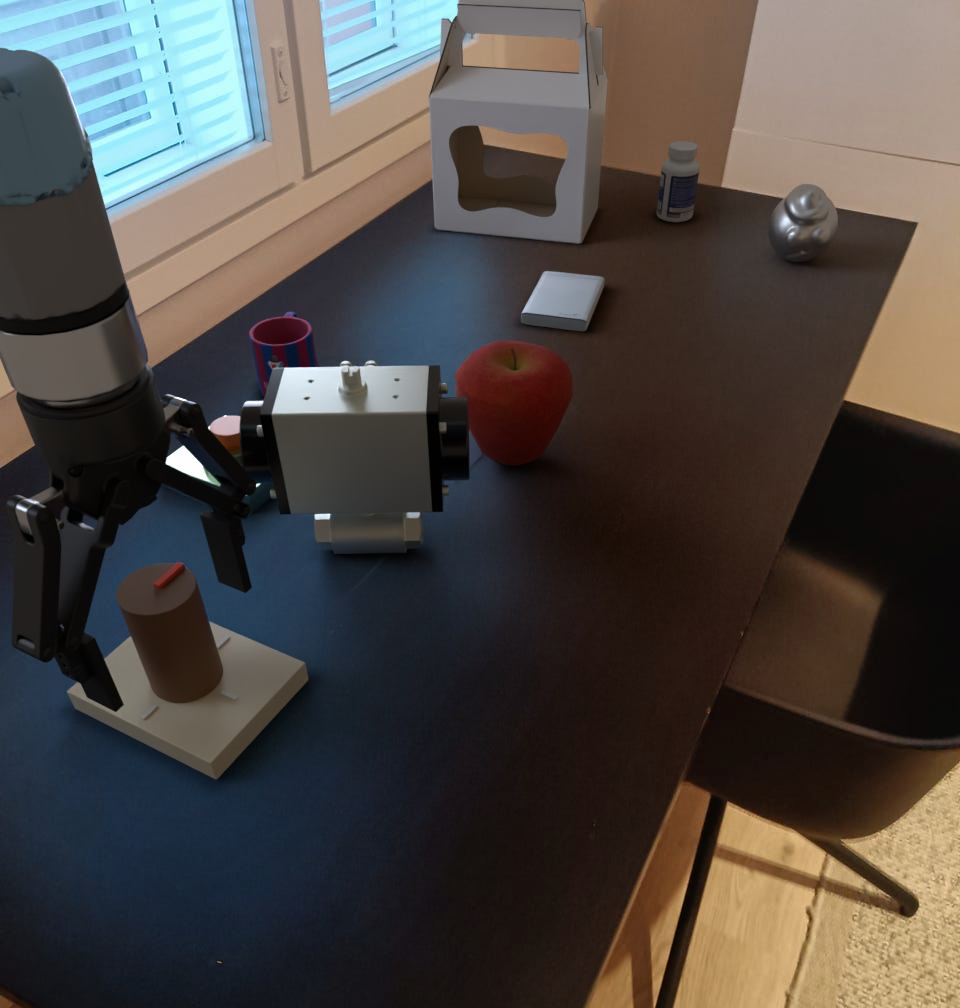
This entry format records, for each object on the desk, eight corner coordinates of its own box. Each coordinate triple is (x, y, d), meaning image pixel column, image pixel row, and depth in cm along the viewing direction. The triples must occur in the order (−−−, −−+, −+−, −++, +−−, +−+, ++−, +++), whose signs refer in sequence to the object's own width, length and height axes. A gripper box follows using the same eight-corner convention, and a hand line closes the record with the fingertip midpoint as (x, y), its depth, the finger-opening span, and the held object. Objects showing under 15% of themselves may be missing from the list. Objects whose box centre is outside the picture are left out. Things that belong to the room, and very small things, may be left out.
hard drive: (587, 319, 111) (605, 275, 120) (520, 312, 113) (543, 268, 121) (586, 332, 112) (604, 288, 121) (520, 324, 114) (542, 281, 122)
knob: (191, 712, 68) (158, 621, 61) (135, 687, 69) (97, 596, 63) (237, 665, 71) (211, 573, 64) (183, 642, 73) (152, 550, 66)
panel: (74, 708, 71) (65, 689, 69) (173, 620, 77) (167, 601, 76) (216, 780, 66) (209, 761, 64) (308, 679, 73) (305, 660, 71)
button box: (163, 482, 91) (152, 447, 89) (229, 433, 97) (221, 399, 95) (251, 514, 88) (242, 479, 85) (313, 461, 94) (308, 427, 91)
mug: (252, 401, 102) (240, 343, 97) (279, 356, 109) (268, 301, 104) (311, 405, 101) (302, 347, 96) (334, 360, 108) (326, 304, 103)
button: (205, 445, 89) (201, 429, 88) (229, 427, 92) (226, 411, 90) (234, 455, 88) (231, 439, 87) (258, 436, 90) (255, 421, 89)
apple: (466, 495, 89) (463, 382, 81) (451, 434, 97) (447, 325, 88) (578, 483, 90) (587, 371, 82) (555, 424, 98) (560, 315, 89)
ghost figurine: (747, 262, 126) (762, 185, 119) (781, 240, 131) (798, 165, 124) (808, 281, 122) (828, 202, 114) (841, 258, 127) (862, 180, 119)
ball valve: (471, 512, 87) (467, 336, 75) (471, 571, 81) (467, 391, 69) (280, 515, 87) (244, 340, 75) (267, 575, 81) (225, 395, 69)
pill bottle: (699, 215, 137) (710, 144, 131) (678, 226, 135) (688, 154, 128) (669, 206, 140) (678, 136, 133) (648, 216, 137) (656, 145, 130)
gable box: (432, 230, 135) (422, 0, 115) (457, 197, 144) (451, -22, 124) (583, 245, 130) (599, 9, 111) (599, 210, 139) (617, -14, 119)
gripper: (183, 277, 61) (244, 529, 76) (-161, 469, 46) (0, 737, 61) (273, 301, 59) (318, 558, 74) (-61, 513, 43) (82, 782, 58)
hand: (174, 639), depth 67 cm, fingers open, 13 cm apart
